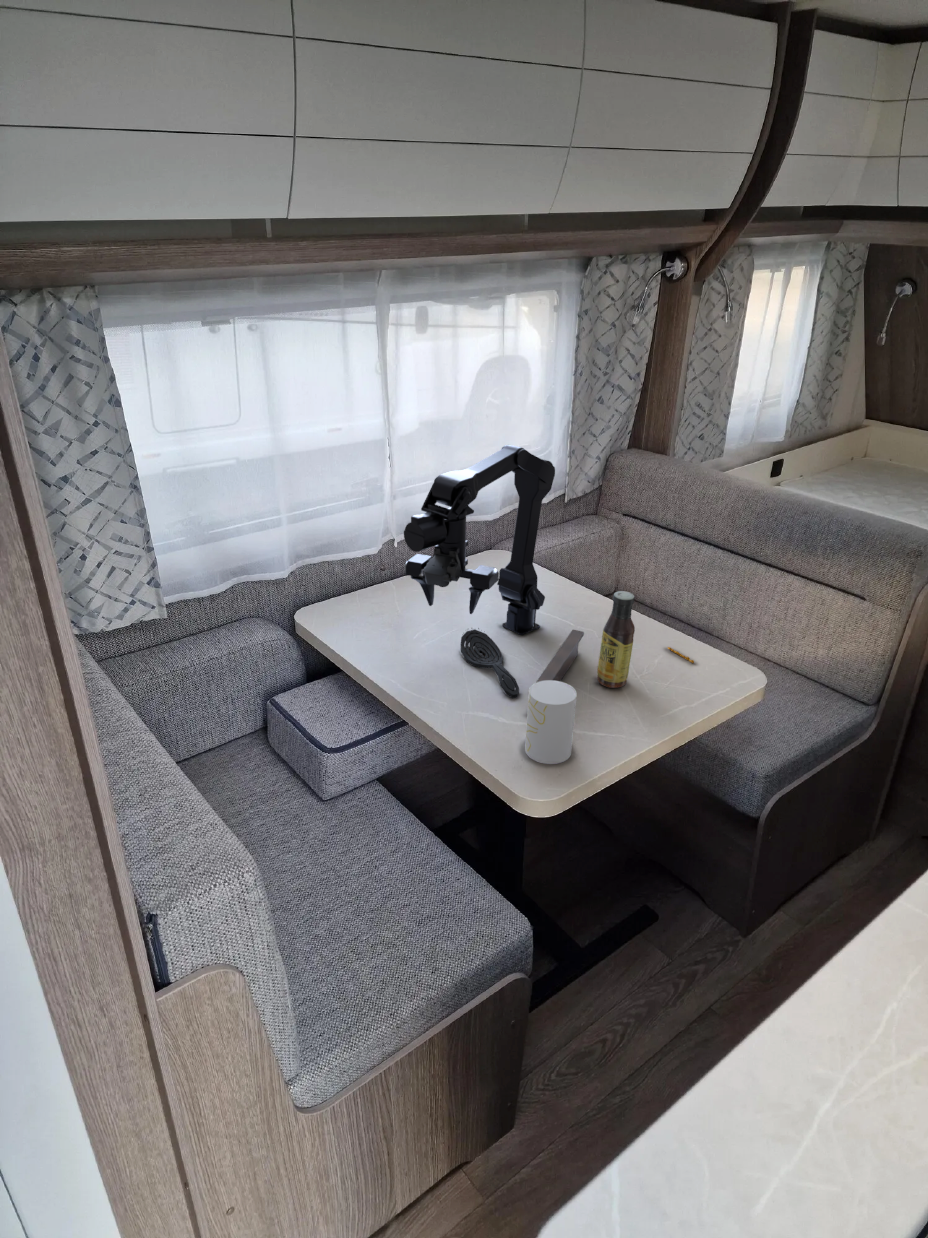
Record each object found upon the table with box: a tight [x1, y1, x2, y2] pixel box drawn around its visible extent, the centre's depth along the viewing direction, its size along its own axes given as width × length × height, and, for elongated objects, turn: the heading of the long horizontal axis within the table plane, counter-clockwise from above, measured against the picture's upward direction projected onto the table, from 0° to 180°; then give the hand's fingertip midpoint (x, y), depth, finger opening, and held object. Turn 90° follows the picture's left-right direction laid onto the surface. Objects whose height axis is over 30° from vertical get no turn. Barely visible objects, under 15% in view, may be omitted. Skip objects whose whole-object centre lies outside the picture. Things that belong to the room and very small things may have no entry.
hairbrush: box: [460, 627, 520, 699], centre depth 171 cm, size 8×4×25 cm
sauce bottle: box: [596, 590, 636, 689], centre depth 163 cm, size 6×6×20 cm
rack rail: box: [535, 629, 585, 683], centre depth 165 cm, size 28×3×6 cm, turn 157°
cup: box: [524, 680, 578, 765], centre depth 142 cm, size 8×8×12 cm
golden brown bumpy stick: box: [667, 646, 695, 664], centre depth 178 cm, size 8×1×1 cm, turn 31°
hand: (451, 609), depth 169 cm, fingers open, 9 cm apart
